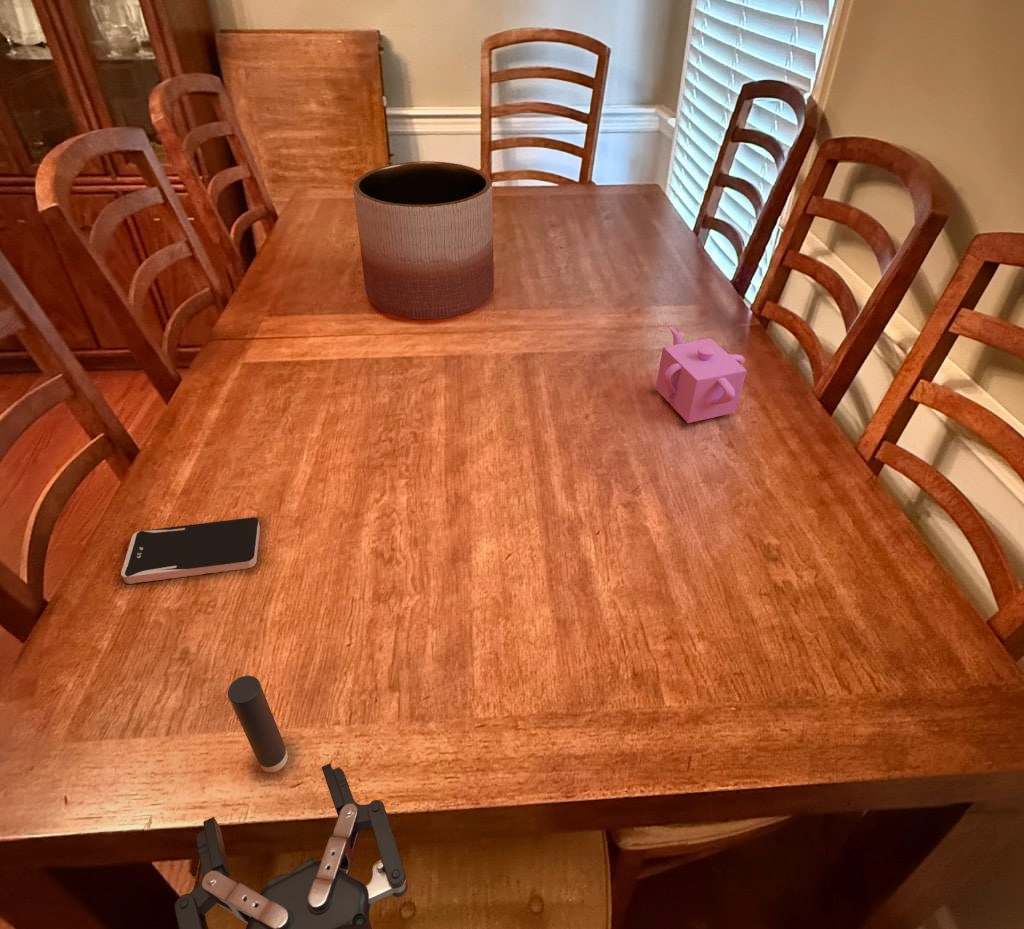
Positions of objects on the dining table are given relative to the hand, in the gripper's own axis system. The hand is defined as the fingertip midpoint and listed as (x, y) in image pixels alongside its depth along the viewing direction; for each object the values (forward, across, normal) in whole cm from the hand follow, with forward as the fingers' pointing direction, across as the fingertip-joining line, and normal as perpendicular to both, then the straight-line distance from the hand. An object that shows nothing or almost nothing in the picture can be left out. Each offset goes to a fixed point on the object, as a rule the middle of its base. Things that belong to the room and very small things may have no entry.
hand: (270, 795), depth 52 cm
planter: (+92, -51, +12) cm, 106 cm away
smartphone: (+40, +2, +12) cm, 42 cm away
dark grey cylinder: (+10, 0, +12) cm, 15 cm away
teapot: (+38, -74, +12) cm, 84 cm away
